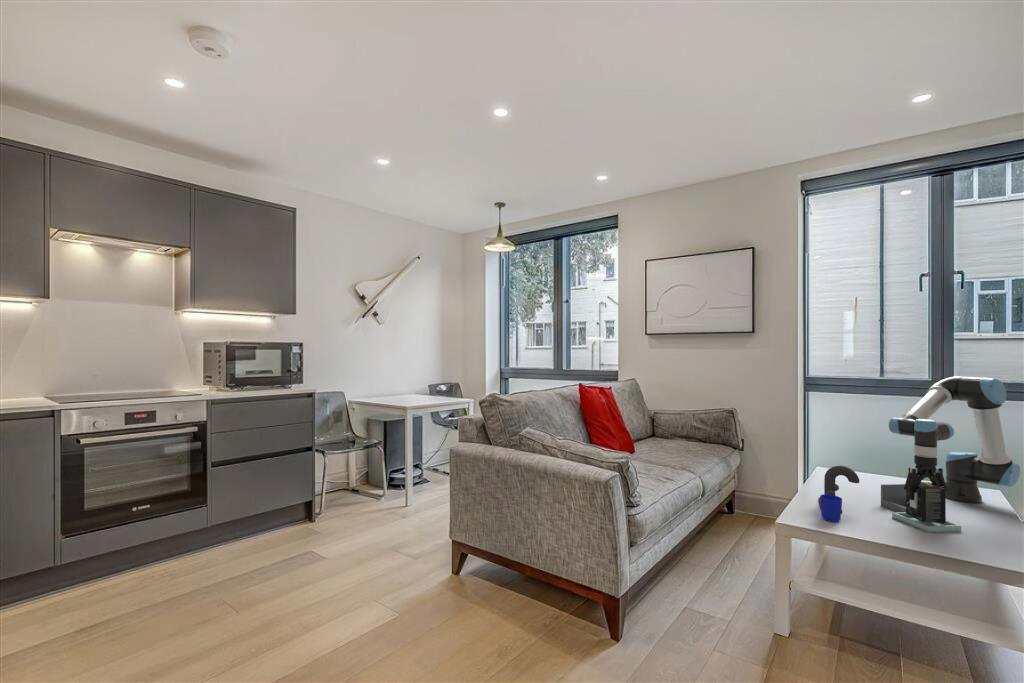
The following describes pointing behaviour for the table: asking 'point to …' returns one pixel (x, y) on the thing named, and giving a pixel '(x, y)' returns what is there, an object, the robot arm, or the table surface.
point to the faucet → (832, 474)
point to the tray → (926, 524)
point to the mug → (831, 507)
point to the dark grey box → (928, 503)
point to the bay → (893, 496)
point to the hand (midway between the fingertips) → (925, 507)
